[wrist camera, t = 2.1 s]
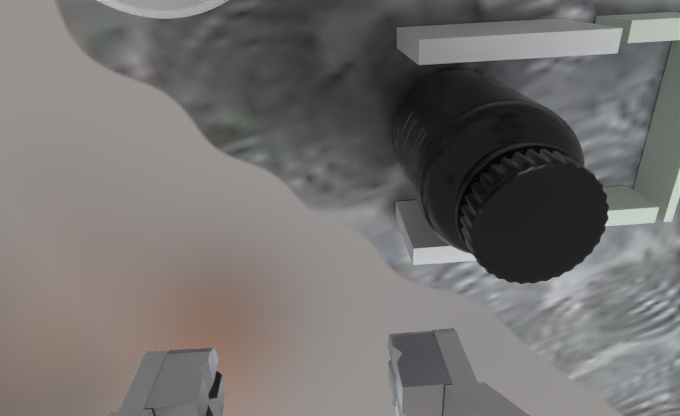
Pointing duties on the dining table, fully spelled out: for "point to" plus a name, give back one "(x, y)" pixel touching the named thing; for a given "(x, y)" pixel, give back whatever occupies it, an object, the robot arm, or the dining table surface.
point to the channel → (487, 46)
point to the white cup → (163, 7)
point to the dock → (652, 129)
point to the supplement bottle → (498, 176)
